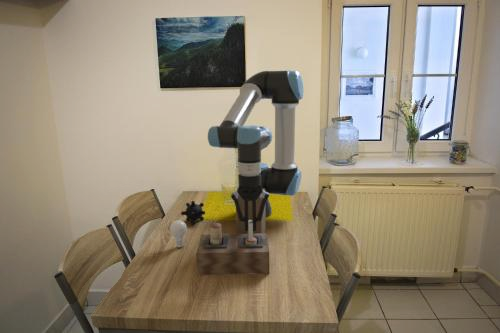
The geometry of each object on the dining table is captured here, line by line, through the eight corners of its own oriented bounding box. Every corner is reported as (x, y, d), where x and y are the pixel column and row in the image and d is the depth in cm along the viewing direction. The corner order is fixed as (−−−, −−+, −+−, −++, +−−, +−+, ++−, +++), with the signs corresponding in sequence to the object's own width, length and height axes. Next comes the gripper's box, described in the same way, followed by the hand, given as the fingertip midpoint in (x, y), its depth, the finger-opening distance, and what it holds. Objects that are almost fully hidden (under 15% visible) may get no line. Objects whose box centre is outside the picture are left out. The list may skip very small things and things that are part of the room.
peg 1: (214, 244, 132) (213, 222, 130) (224, 246, 130) (223, 224, 128) (208, 249, 129) (207, 226, 126) (217, 251, 127) (216, 228, 124)
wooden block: (261, 245, 143) (261, 196, 138) (236, 243, 145) (235, 195, 140) (265, 234, 153) (265, 188, 148) (242, 232, 155) (241, 187, 150)
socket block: (197, 274, 124) (196, 251, 122) (202, 254, 138) (201, 232, 135) (269, 273, 124) (269, 250, 122) (267, 253, 138) (267, 231, 135)
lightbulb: (179, 242, 148) (178, 216, 145) (191, 246, 144) (189, 219, 141) (167, 248, 143) (165, 221, 140) (179, 252, 139) (177, 225, 136)
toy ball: (212, 210, 172) (209, 213, 160) (196, 226, 172) (192, 231, 160) (195, 194, 172) (191, 196, 160) (179, 210, 172) (174, 214, 160)
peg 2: (249, 258, 133) (248, 236, 131) (258, 260, 131) (258, 238, 129) (243, 263, 130) (242, 240, 128) (253, 265, 128) (253, 243, 126)
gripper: (229, 177, 119) (231, 244, 125) (270, 176, 119) (270, 243, 125) (230, 170, 126) (232, 234, 132) (268, 170, 126) (269, 234, 132)
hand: (250, 239), depth 128 cm, fingers closed
